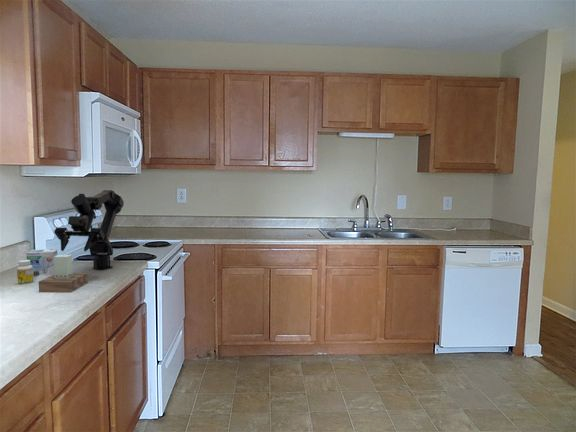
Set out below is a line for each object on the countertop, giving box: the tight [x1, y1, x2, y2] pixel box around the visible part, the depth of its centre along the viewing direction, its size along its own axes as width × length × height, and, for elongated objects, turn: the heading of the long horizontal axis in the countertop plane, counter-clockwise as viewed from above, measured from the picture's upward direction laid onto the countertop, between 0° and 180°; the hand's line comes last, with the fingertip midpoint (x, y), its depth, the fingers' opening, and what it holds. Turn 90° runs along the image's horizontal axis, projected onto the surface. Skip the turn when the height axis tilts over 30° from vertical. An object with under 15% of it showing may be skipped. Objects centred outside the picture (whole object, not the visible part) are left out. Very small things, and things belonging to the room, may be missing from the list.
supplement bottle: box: [16, 259, 34, 285], centre depth 165 cm, size 5×5×10 cm
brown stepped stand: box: [38, 272, 89, 293], centre depth 159 cm, size 20×16×5 cm
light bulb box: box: [26, 248, 59, 277], centre depth 180 cm, size 11×7×11 cm, turn 105°
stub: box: [53, 254, 74, 279], centre depth 159 cm, size 4×5×12 cm
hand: (73, 250), depth 166 cm, fingers open, 9 cm apart
